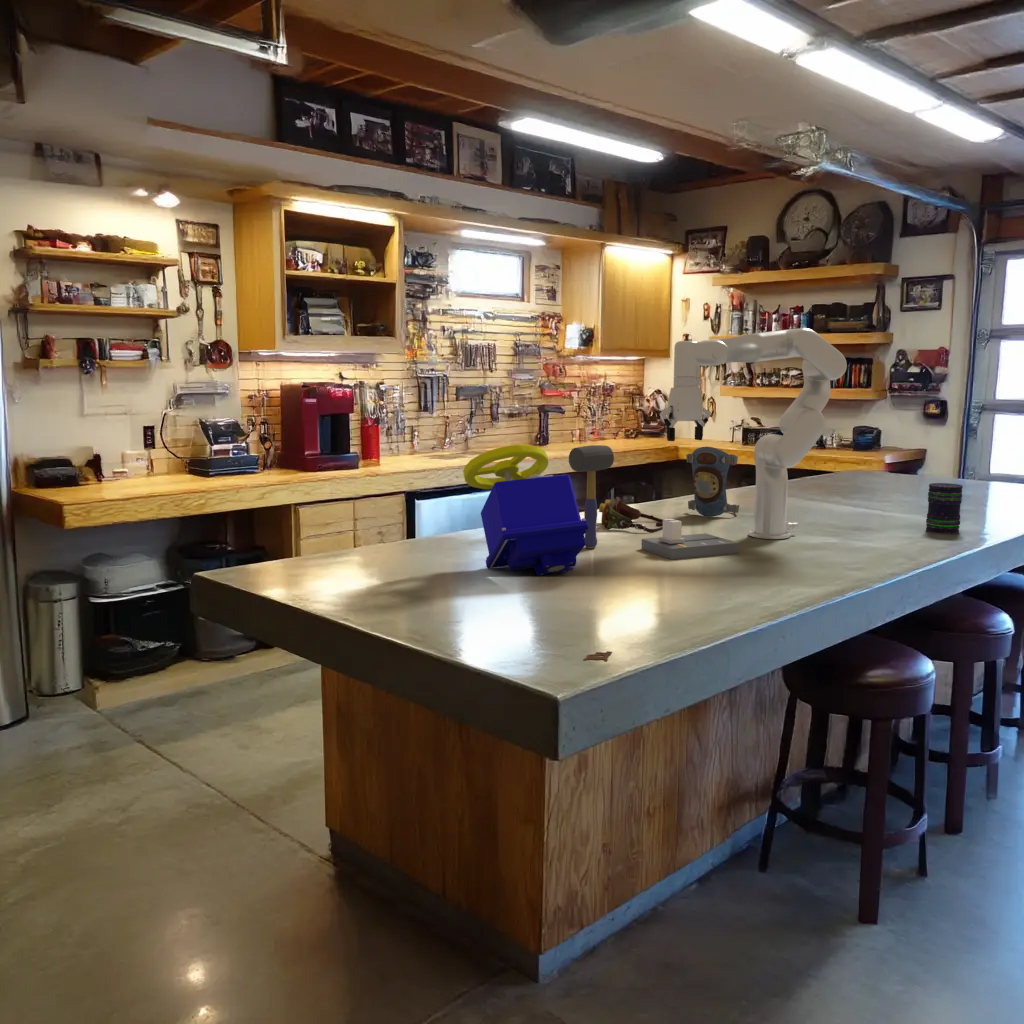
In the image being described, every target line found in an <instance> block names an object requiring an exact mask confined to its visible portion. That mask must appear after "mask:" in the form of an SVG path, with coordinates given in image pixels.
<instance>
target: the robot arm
mask: <svg viewBox="0 0 1024 1024" xmlns="http://www.w3.org/2000/svg"><path fill="white" fill-rule="evenodd" d="M673 351H674V354H673V355H674V359H673V387H670V389H669V395H668V399H667V400H668V401H667V408H666V409H664V410H663V411H661V412H659V416H660V419H661V422H662V423H663V425H664V426H665V428H666V440H667V441H668V442H675V441H676V427H675V426H676V424H677V423H678V422H694V424H695V427H694V440H695V441H696V440H697V441H702V440H703V436H704V427H706V424H707V423H708V422H709V419H710V417H711V415H712V414H711V411H710V410H708V409H706V408H704V405H703V404H704V402H703V394H702V388H701V387H700V384H702V383H703V379H701V378H700V371H701V370H700V369H701V368H700V367H701V366H703V367H706V366H707V367H716V366H719V365H722V364H728V363H729V364H730V363H759V362H766V361H774V360H782V359H791V358H802V359H803V361H802V365H801V368H802V370H801V371H802V375H803V387H802V389H801V390H800V393H799V394H798V396H797V397H796V398H795V399H794V400H793V402H792V403H790V405H789V407H788V408H787V409H786V410H785V412H783V414H782V416H781V417H780V419H779V422H778V427H779V430H780V431H781V433H782V435H781V434H775V433H774V434H773V433H771V434H769V433H768V434H765V435H763V436H761V437H760V438H759V439H758V440H757V441H756V443H755V446H754V449H753V454H754V455H753V456H754V464H755V465H754V466H755V489H754V490H755V493H754V513H753V514H754V515H753V516H754V518H753V529H750V530H749V531H748V536H750V537H753V538H756V539H762V540H763V539H764V540H783V539H789V538H790V537H791V534H792V533H791V532H789V531H790V530H795V529H798V528H799V523H798V522H790V521H787V507H788V504H787V503H788V487H789V476H788V469H792V468H794V467H795V466H797V465H798V464H799V463H800V462H801V461H802V460H803V459H804V458H805V457H806V456H807V454H808V453H809V452H810V450H811V449H812V448H813V446H814V445H815V444H816V443H817V441H818V440H819V439H820V437H821V436H822V434H823V432H824V430H825V426H826V424H825V423H826V420H825V416H824V415H823V413H822V411H823V410H824V408H825V407H826V406H827V404H828V402H829V400H830V397H831V381H835V380H838V379H840V378H842V376H843V375H845V373H846V371H847V368H848V365H847V360H846V358H845V355H844V354H843V353H842V352H840V350H838V349H837V348H836V347H835V346H834V345H832V344H831V343H830V342H828V341H827V340H826V338H823V337H822V335H820V334H819V333H817V332H816V331H814V330H813V329H811V328H807V327H802V328H801V327H799V328H791V329H789V328H788V329H782V330H772V331H765V332H755V333H749V334H743V335H740V336H734V337H733V336H732V337H727V338H719V339H710V340H709V339H708V340H702V341H701V340H700V341H697V340H696V341H695V340H681V341H677V342H675V344H674V350H673Z"/></svg>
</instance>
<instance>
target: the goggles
mask: <svg viewBox="0 0 1024 1024" xmlns="http://www.w3.org/2000/svg"><path fill="white" fill-rule="evenodd" d="M598 513H601V525H603V526H604V527H605V528H606V529H609V530H610V529H614V530H617V529H618V530H625V529H631V528H634V529H635V530H639V531H641V530H643V531H644V532H646V533H650V534H651V533H656V532H659V531H663V518H660V517H655V516H654V515H653V514H651V515H650V514H646V513H641V511H640V510H639V509H637V508H635V507H632V506H630V505H628V504H626V503H625V502H623V501H622V500H621V498H620V497H619V496H616V497H615V498H612V499H605V501H604V503H602V502H601V503H600V504H599V507H598ZM640 518H643V519H648V520H651V521H655V522H656V523H655V527H657V528H648V527H646V525H643V524H642V523H638V522H636V523H633V521H634V520H635V521H636V520H638V519H640Z"/></svg>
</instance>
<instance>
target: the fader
mask: <svg viewBox="0 0 1024 1024" xmlns="http://www.w3.org/2000/svg"><path fill="white" fill-rule="evenodd" d="M662 520H663V526H662V527H663V530H662V536H657V537H658V540H660V541H663V542H666V543H669V544H673V543H685V539H684V538H681V535H682V524H683V523H682V521H681V520H678V519H674V518H666V519H665V518H664V519H663V518H662Z"/></svg>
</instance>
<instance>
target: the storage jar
mask: <svg viewBox="0 0 1024 1024" xmlns="http://www.w3.org/2000/svg"><path fill="white" fill-rule="evenodd" d="M963 488H964V487H963V485H962V484H957V483H947V482H946V483H945V482H944V483H943V482H942V483H940V482H935V483H929V484H928V492H927V493H928V494H927V496H928V497H927V502H928V503H927V505H928V506H927V513H926V520H925V523H926V524H925V525H926V527H925V532H928V533H933V534H939V535H957V534H959V533H960V526H961V504H962V501H963V499H962V498H963Z"/></svg>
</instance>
